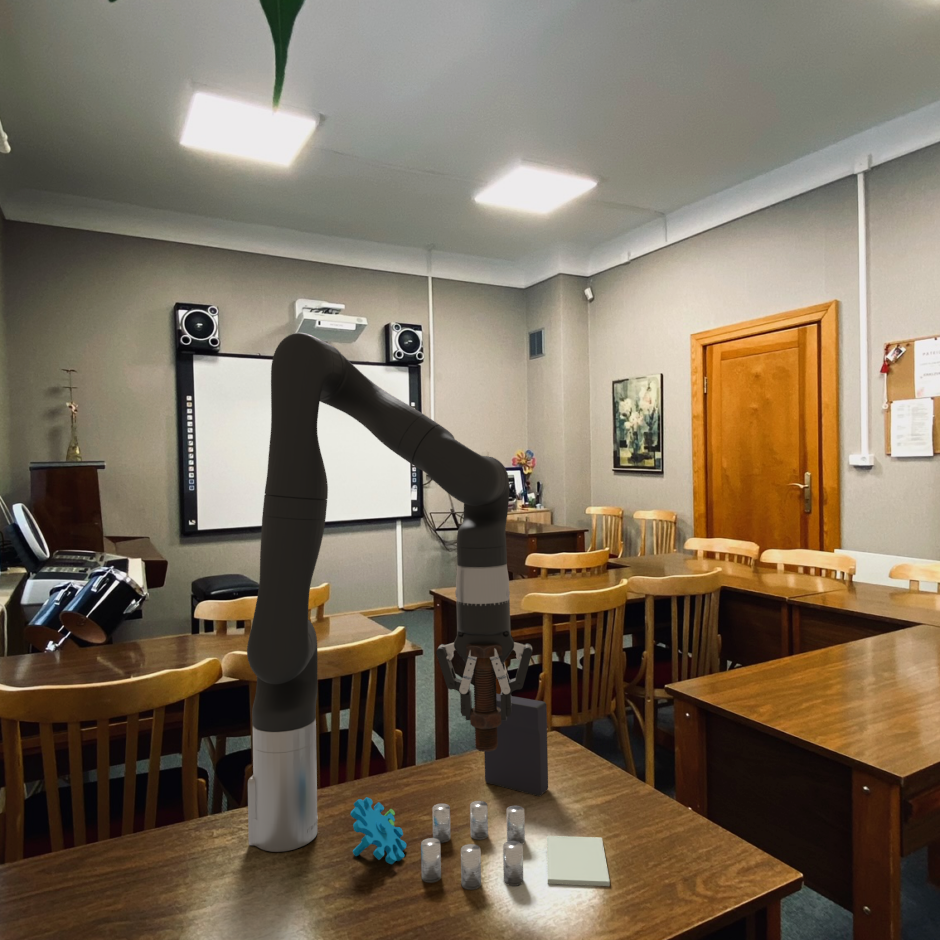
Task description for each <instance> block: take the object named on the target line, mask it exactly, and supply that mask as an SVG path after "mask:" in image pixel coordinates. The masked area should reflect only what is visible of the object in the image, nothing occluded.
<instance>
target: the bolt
mask: <svg viewBox="0 0 940 940" xmlns="http://www.w3.org/2000/svg"><path fill="white" fill-rule="evenodd" d="M494 648H495V649H496V650H497V652H498V655H499V656H500V655H502V646H501V645H499V644H467V645H466V656H469V652H471V657H477V660H476V663H475V667H476V668H475V670H477V671H474V672H473V695H474V696H473V702H474V703H473V707H472V709H471V713H470V720H469V722H470V725H471V726H472V727H474V734H475V735H474V738H475V739H474V740H475V742H474V743H475V744H474V746H475V749H476V750H477V751H479V752H489V751H493V750H495V749H496V748H497V747H498V740H497V739H498V737H497V736H498V735H497V734H498V733H497V727H498V726H500V725H501V709H500V708H499V707H497V704H496V703H497V699H496V698H497V697H496V696H497V694H498V693H497V691H498V690H497V677H496V674H495V671H492V669H493V668H492V667H493V665H492V662H491V659H490V657H494V656H495V650H494Z"/></svg>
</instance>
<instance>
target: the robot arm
mask: <svg viewBox="0 0 940 940" xmlns="http://www.w3.org/2000/svg"><path fill="white" fill-rule="evenodd" d="M278 343H279V344H278V345H277V347H276V349H275V351H274V353H273V356H272V361H271V368H270V369H271V370H270V402H271V404H270V409H271V411H270V412H271V413H270V415H271V419H270V420H271V421H270V436H269V437H270V438H269V447H268V458H267V459H268V460H267V470H266V471H267V473H266V479H265V488H264V496H263V504H262V505H263V507H262V516H261V517H262V518H261V537H260V551H259V552H260V553H259V555H260V556H259V584H258V592H257V597H256V603H255V607H254V613H253V618H252V623H251V628H250V632H249V636H248V642H247V647H246V656H247V661H248V664H249V666H250V669H251V670H252V673H254V675H255V676H256V688H255V696H254V700H253V704H252V709H251V710H252V712H251V713H252V714H251V715H252V717H251V719H252V721H251V723H252V760H253V761H252V766H253V767H252V771H253V773H252V775H251V776H250V777H249V778H248V780H247V815H248V816H247V817H248V818H247V819H248V820H247V822H248V824H247V826H248V831H247V832H248V846H255V847H257V848H259V849H260V850H263V851H266V852H276V853H277V852H278V853H279V852H288V851H292V850H296V849H298V848H301V847H304V846H306V845H307V844H309V843H310V842H312V841H313V840H314V839H315V838H316V837H317V834H318V822H319V821H318V820H319V819H318V786H317V784H318V783H317V782H318V781H317V780H318V778H317V777H318V776H317V774H318V772H317V771H318V770H317V769H318V768H317V725H316V724H317V721H316V714H317V713H316V710H317V709H316V708H317V707H316V706H317V699H318V660H319V659H318V638H317V632H316V630H315V627H314V625H313V624H312V622H311V621H310V619H309V607H310V606H309V602H310V592H311V591H310V590H311V584H312V581H313V579H312V578H313V576H314V572H315V569H316V565H317V562H318V559H319V558H318V557H319V555H320V551H321V547H322V541H323V536H324V532H325V531H324V530H325V526H326V517H327V508H328V507H327V506H328V496H329V495H328V493H329V492H328V491H329V489H328V488H329V486H328V485H329V484H328V478H327V472H326V468H325V463H324V459H323V456H322V452H321V448H320V443H319V436H318V418H319V409H320V403H323V404H325V405H328V406H329V407H332V408H334V409H336V410H338V411H341V412H343V413H344V414H346V415H348V416H349V417H352V418H353V419H354V420H356V422H358V423H360V424H361V425H363V427H364V428H366V429H367V430H368V431H369V432H370V433H371V434H372V435H373V436H374V437H375V438H377V440H379V442H381V444H383V445H384V446H386V447H387V448H388V449H389V450H390V451H392V452H393V453H395V454H397V456H399V457H401V458H402V459H404V460H405V461H406V462H407V463H410V464H411V465H413V466H414V467H416V468H417V469H419V470H421V471H422V472H424V473H425V474H426V475H427V476H428V477H429V478H430V479H431V480H432V481H433V482H435V484H436V485H438V486H439V487H440V488H441V489H442V490H444V491H445V492H446V493H447V494H449V495H450V496H451V497H452V498H454V499H455V500H457V501H459V502H461V503H462V504H463V515H462V516H463V517H462V518H463V519H462V523H461V524H460V526H459V527H458V530H457V533H456V562H457V563H456V565H457V567H456V577H455V592H454V593H455V598H456V599H455V600H456V637H455V640H454V642H451V643H448V644H443V643H441V644H439V646H438V647H437V648H436V652H435V653H436V657H437V660H438V664H439V667H440V669H441V672H442V676H443V678H444V682H445V686H446V687H447V689H448V690H450V691H451V690H452V691H453V690H454V691H457V692H458V693H459V695H460V713H461V717H465V721H470V713H471V709H472V708H473V706H472V705H473V703H472V702H473V701H472V689H470V688H471V687H470V685H471V683H472V679H473V676H474V673H473V672H474V671H477V670H475V668H476V667H475V663H476V660H477V657H471V652H469V656H466V645H467V644H499V645H501V646H502V655H500V656H499V655H498V652H497V650H496V649H495V648H494V650H495V656H494V657H490V659H491V662H492V665H493V667H492V668H493V669H492V671H495V674H496V680H498V684H499V686H500V694H501V720H506V719H507V716H510V714H511V709H512V708H511V696H512V693H513V692H515V691H516V690H522V689H523V687H524V683H525V680H526V677H527V674H528V669H529V666H530V661H531V658H532V654H533V646H532V645H531V644H530V643H525V644H523V643H519V642H515V640H514V638H513V636H512V633H511V631H512V630H511V603H510V602H511V601H510V599H511V598H510V597H511V596H510V595H511V594H510V593H511V592H510V578H509V572H508V565H507V564H508V560H507V559H508V557H507V554H508V553H507V538H506V527H507V526H506V525H507V520H508V513H509V512H508V511H509V502H510V480H509V478H510V477H509V474H508V472H507V468H506V467H505V465H504V464H503V463H502V462H501V461H500V460H499V459H497V458H496V457H493V456H490V455H489V456H488V455H481V454H480V453H477V452H476V451H474V450H473V449H470V448H469V447H468V446H466V445H465V444H463V443H461V442H460V441H458V440H457V439H455V436H454V435H453V433H451V432H450V431H449V430H448V428H447V429H446V428H445V427H444V426H442V425H441V424H439V423H438V422H436V421H435V420H433V419H431V418H430V417H429V416H427V415H425V414H424V413H422V412H421V411H419V410H417V409H416V408H414V407H413V406H411V405H409V404H408V403H406V402H405V401H402V400H401V399H399V398H397V397H395V396H394V395H392V394H391V393H390V392H389V393H388V392H387V391H386V390H384V389H382V388H381V387H380V386H378V385H377V384H376V383H374V382H373V381H372V380H371V379H369V378H368V377H367V376H366V375H364V373H363V372H361V371H360V370H359V369H358V368H357V367H356V366H355V365H354V364H353V363H351V361H349V359H348V358H346V356H345V355H344V354H342V353H341V351H339V350H338V349H337V347H335V346H334V345H332V344H330V343H328V342H326V341H324V340H322V339H320V338H318V337H316V336H314V335H312V334H309V333H304V332H293V333H291V334H289V335H287V336H285V337H284V338H283V339H282V340H281V341H280V342H278ZM455 651H456V652H457V654H458V655H459V656H460V658H461V659H462V661H463V662H464V663H465V668H464V670H463V675H462V678H461V679H460V678H458V677H457V675H456V672H455V669H454V666H453V663H452V660H453V658H454V655H455V654H454V652H455ZM512 651H514V652H515V654H516V655H515V657H516V659H517V660H518V661H519V664H518V668H517V670H516V675H515V677H514V678H511V679H510V678H509V674H508V671H507V667H506V664H505V661H506V660H507V659H508V657H509V656H510V654H511V653H512Z"/></svg>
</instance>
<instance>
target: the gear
mask: <svg viewBox="0 0 940 940" xmlns="http://www.w3.org/2000/svg"><path fill="white" fill-rule="evenodd" d="M373 803H374V802H373V799H372V798H370V797H367V796H366V797H365V798H364V799H361V798H359V799H357V800H356V801H355V802H353V806H354V808H353V809H352V810H351V811H350V814H349V815H350V816H351V817H352V819H355V820H356V821H355V822H354V823H353V824H352V826H353V827H352V828H353V830H354V832H355V833H362V834H364V836H363V837H362V838H361V839H360V841H361V842H360V843H359V844H358V845H356V847H355V848H354V849H353V850H352V854H353V855H354V856H355V857H358V856H360V854H361V853H363V852H364V851H365V850H366V848H369V846H371V845H373V846H374V845H375V846H376V848H375V850H373V852H372V855H374V857H375V858H376V859H377V860H378V861H380V860H381V859H382V858H383V857H384V856H385V852H386V856H385V859H384V860H385V862H386V863H388V864H390V865H393V864H394V863H395V862H396V861H397V862H400V861H401V860H402V859H404V858H405V856H406V855H405V854H404V852H403V851H405V849H406V848H407V845H408V844H407V843H406V841H404V839H403V840H402V839H401V838H402V837H403V836H404V832H403V829H402V827H399V826H395V821H396V819H395V815H396V813H395V810H393V808H390V809H388V811H387V812H386V813H385V814H384V815H383V814H382V812H383V811H384V809H385V807H384V805H383V804H382V803H381V802H380V801H379V802H378V801H377V803H375V805H374V804H373ZM372 805H374V806H373V808H372Z"/></svg>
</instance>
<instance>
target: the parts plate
mask: <svg viewBox="0 0 940 940" xmlns="http://www.w3.org/2000/svg"><path fill="white" fill-rule="evenodd" d="M546 858H547V859H546V861H547V862H546V865H547V866H546V867H547V868H546V869H547V871H546V872H547V884H548V885H549V884H550V885H570V886H571V885H572V886H573V885H574V886H595V887H596V886H599V887H611V885H610V883H611V882H610V876H609V869H608V866H607V860H606V854H605V849H604V842H603V837H596V836H594V837H593V836H592V837H591V836H570V835H568V836H567V835H566V836H565V835H564V836H563V835H559V836H558V835H546Z"/></svg>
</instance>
